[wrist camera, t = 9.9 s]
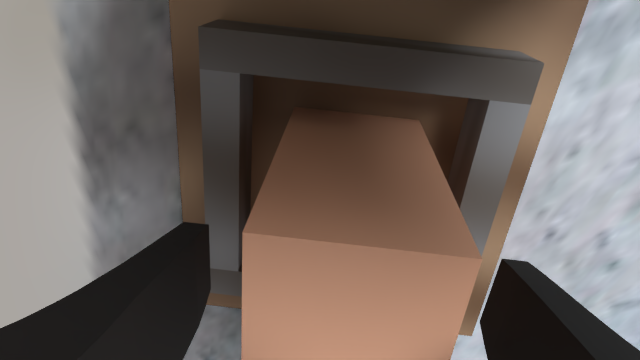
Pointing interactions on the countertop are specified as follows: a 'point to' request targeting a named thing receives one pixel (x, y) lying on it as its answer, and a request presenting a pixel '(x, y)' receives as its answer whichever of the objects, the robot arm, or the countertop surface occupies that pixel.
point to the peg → (355, 245)
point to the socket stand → (364, 100)
